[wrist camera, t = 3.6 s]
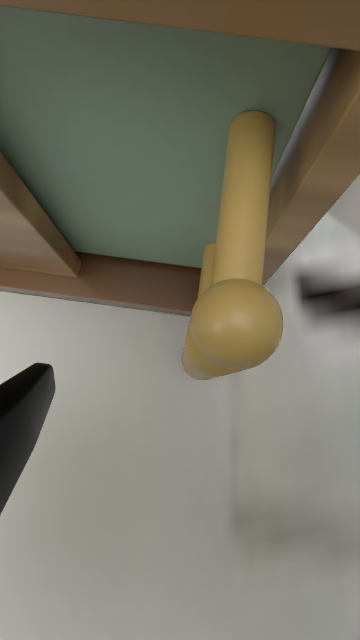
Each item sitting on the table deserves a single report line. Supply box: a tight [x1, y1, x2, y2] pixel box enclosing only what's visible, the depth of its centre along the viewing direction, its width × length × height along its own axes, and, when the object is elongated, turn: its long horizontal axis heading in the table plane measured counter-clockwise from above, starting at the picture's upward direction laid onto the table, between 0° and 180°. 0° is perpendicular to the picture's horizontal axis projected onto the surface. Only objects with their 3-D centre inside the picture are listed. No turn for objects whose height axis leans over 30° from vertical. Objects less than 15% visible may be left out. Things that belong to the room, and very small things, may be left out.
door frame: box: [0, 0, 360, 316], centre depth 12 cm, size 5×19×16 cm, turn 83°
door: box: [0, 6, 332, 380], centre depth 11 cm, size 7×9×12 cm
